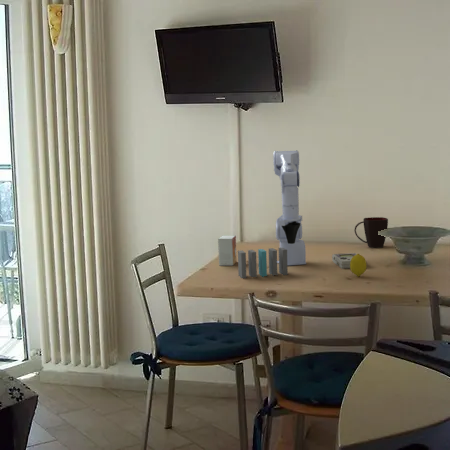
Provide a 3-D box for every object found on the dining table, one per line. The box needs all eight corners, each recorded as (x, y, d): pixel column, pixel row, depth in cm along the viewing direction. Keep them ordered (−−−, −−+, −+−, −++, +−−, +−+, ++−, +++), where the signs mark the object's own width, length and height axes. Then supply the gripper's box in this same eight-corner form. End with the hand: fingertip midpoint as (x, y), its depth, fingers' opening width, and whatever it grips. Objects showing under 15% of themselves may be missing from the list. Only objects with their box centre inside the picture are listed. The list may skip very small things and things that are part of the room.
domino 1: (242, 275, 244) (242, 250, 242) (246, 278, 239) (245, 252, 238) (238, 275, 243) (237, 250, 242) (241, 278, 239) (241, 253, 237)
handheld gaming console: (341, 260, 248) (331, 253, 263) (341, 270, 249) (332, 262, 264) (366, 259, 249) (355, 252, 264) (366, 268, 250) (355, 261, 264)
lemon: (357, 279, 232) (356, 255, 231) (346, 276, 237) (346, 253, 236) (369, 277, 234) (369, 254, 233) (359, 274, 239) (359, 251, 238)
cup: (390, 248, 286) (390, 220, 284) (356, 249, 286) (356, 221, 284) (384, 244, 296) (384, 216, 294) (352, 245, 296) (352, 218, 294)
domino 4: (283, 272, 247) (282, 247, 246) (287, 274, 242) (287, 249, 241) (279, 272, 247) (278, 247, 245) (283, 275, 242) (282, 250, 240)
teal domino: (263, 273, 245) (262, 248, 244) (266, 276, 240) (266, 251, 239) (258, 274, 245) (258, 249, 244) (262, 276, 240) (261, 251, 239)
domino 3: (273, 272, 246) (272, 248, 245) (277, 275, 241) (276, 250, 240) (269, 273, 246) (268, 248, 244) (273, 276, 241) (272, 250, 240)
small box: (233, 265, 261) (232, 238, 259) (218, 265, 262) (217, 238, 261) (236, 261, 269) (236, 235, 267) (222, 261, 270) (222, 235, 268)
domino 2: (253, 274, 244) (252, 249, 243) (256, 277, 240) (256, 252, 238) (248, 274, 244) (248, 249, 243) (252, 277, 239) (251, 252, 238)
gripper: (289, 203, 251) (290, 239, 253) (270, 207, 239) (271, 245, 241) (307, 203, 248) (307, 240, 249) (289, 207, 235) (289, 246, 237)
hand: (291, 243), depth 245 cm, fingers closed
